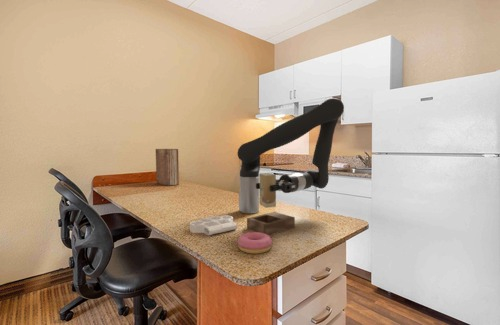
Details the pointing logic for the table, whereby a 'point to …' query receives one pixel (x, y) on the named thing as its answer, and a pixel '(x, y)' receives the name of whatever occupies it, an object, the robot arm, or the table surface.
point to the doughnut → (254, 242)
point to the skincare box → (267, 190)
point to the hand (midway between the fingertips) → (263, 187)
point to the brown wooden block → (167, 166)
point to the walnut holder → (270, 223)
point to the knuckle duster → (213, 225)
